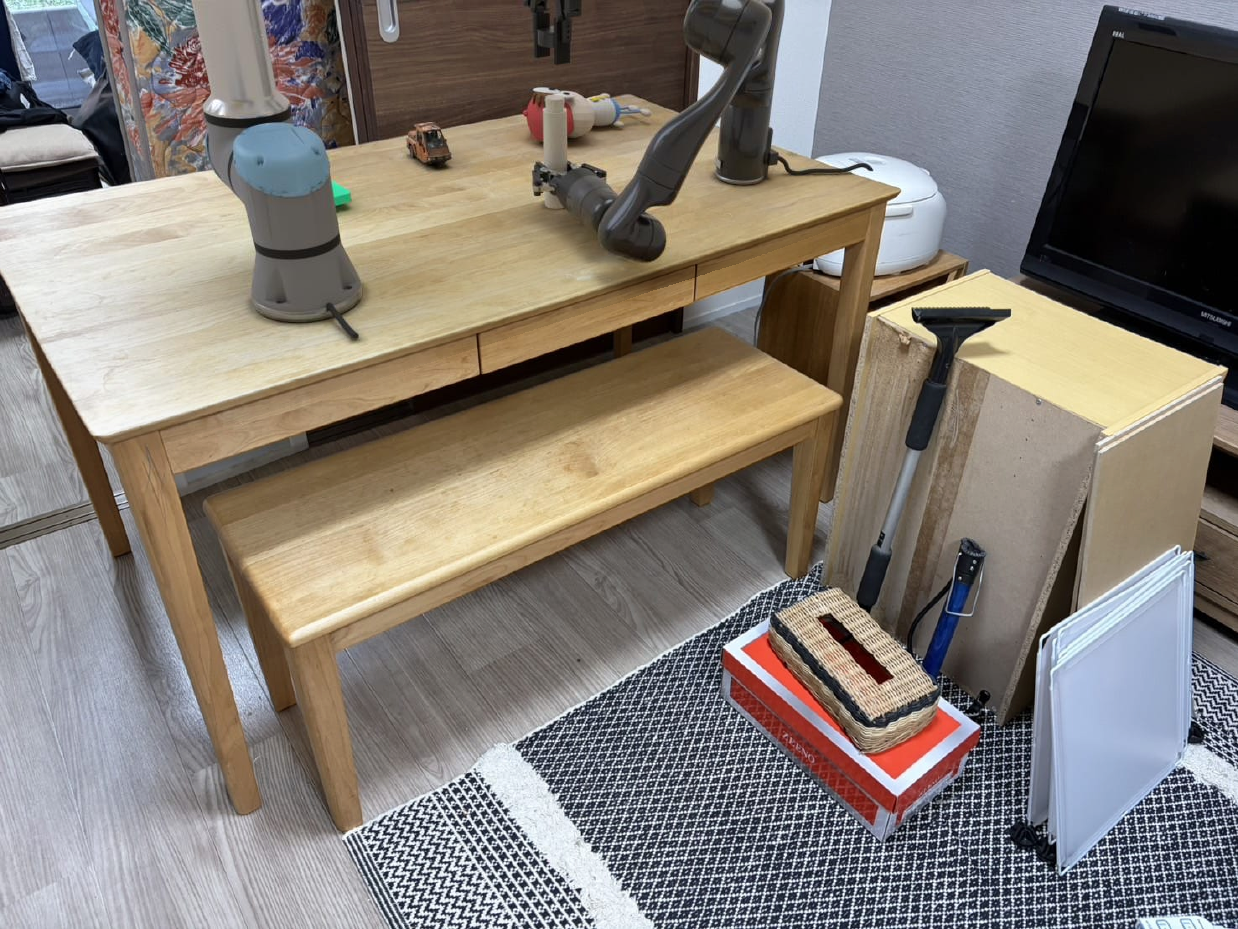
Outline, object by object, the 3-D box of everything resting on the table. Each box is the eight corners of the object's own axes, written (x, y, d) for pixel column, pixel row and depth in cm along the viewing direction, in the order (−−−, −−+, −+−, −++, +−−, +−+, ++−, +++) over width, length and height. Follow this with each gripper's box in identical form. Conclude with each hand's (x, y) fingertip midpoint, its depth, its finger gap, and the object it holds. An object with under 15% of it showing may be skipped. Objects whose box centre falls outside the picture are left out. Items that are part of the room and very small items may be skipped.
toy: (670, 94, 197) (547, 94, 182) (666, 143, 201) (545, 148, 186) (623, 81, 210) (504, 81, 195) (620, 128, 215) (504, 131, 200)
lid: (537, 47, 148) (536, 31, 147) (538, 40, 152) (538, 25, 150) (566, 48, 148) (566, 32, 147) (566, 41, 152) (566, 26, 151)
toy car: (429, 148, 188) (425, 113, 184) (459, 164, 181) (457, 129, 177) (400, 154, 185) (396, 118, 181) (431, 171, 178) (427, 134, 173)
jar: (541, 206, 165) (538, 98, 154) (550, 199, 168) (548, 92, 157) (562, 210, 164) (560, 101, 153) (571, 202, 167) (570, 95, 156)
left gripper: (495, -112, 141) (501, 51, 155) (568, -100, 130) (567, 74, 144) (535, -114, 145) (538, 46, 159) (608, -102, 134) (604, 68, 148)
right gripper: (628, 170, 153) (586, 139, 165) (547, 181, 148) (510, 148, 160) (626, 214, 157) (586, 180, 169) (548, 226, 152) (512, 191, 164)
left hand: (552, 59), depth 151 cm, fingers closed on lid, 5 cm apart
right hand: (549, 165), depth 165 cm, fingers closed on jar, 4 cm apart
